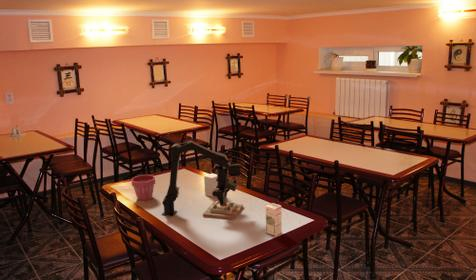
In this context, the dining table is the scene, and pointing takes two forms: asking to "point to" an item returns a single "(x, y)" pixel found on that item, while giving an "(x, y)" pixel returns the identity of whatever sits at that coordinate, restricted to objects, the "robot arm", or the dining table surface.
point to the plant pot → (143, 186)
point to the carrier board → (223, 211)
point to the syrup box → (273, 219)
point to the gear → (225, 204)
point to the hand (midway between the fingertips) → (223, 203)
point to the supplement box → (210, 184)
